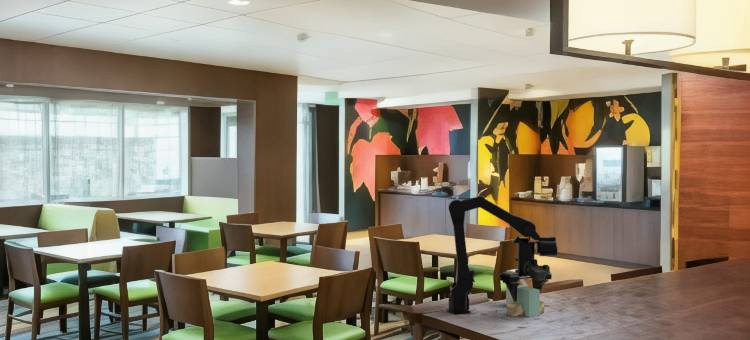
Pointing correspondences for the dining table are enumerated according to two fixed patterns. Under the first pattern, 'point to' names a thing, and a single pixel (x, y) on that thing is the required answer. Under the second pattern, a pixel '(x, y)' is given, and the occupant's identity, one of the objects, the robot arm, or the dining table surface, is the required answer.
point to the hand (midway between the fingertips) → (525, 300)
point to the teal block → (529, 300)
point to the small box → (523, 282)
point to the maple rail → (516, 308)
